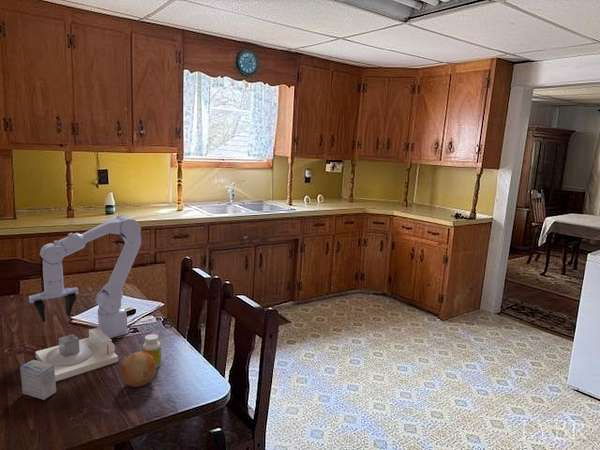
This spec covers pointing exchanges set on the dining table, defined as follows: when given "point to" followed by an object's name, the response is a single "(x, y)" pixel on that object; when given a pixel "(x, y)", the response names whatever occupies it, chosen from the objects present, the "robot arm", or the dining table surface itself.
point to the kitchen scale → (81, 356)
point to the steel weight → (69, 345)
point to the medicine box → (38, 379)
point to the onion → (138, 369)
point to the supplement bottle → (153, 348)
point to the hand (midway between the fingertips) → (56, 318)
